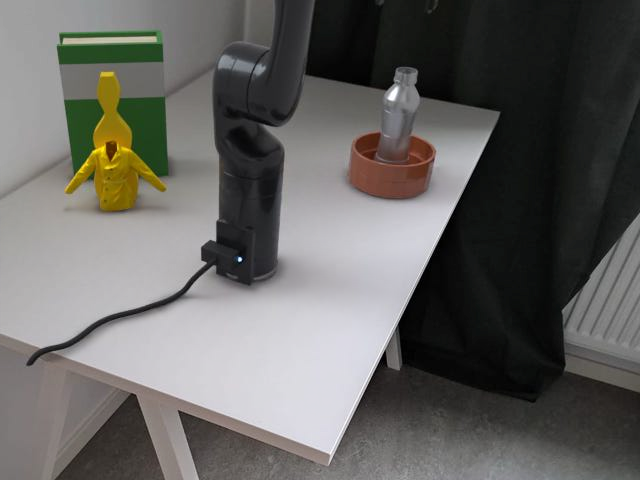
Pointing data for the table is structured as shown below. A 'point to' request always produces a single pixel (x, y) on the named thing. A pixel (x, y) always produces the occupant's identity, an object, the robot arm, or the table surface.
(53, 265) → the table surface
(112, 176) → the yellow jacket
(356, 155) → the bowl
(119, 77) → the hardback book
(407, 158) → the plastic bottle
